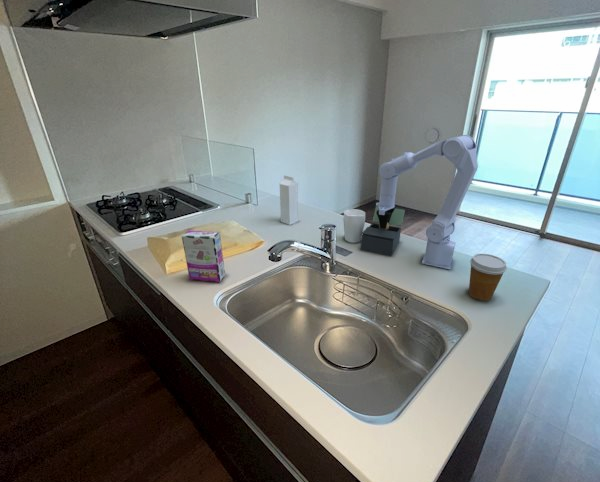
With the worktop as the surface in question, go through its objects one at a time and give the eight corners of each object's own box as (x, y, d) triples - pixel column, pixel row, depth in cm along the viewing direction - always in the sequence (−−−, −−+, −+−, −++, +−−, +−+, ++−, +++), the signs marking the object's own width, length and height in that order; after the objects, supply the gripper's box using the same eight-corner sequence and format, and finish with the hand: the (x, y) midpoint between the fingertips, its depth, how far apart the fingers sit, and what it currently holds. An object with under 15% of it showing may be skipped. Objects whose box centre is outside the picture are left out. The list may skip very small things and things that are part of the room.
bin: (370, 236, 138) (372, 220, 135) (399, 242, 133) (401, 225, 130) (360, 250, 127) (362, 232, 123) (391, 256, 121) (393, 238, 118)
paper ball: (389, 229, 130) (390, 220, 129) (387, 233, 127) (388, 223, 126) (379, 228, 132) (380, 219, 130) (377, 231, 129) (378, 222, 127)
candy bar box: (226, 275, 110) (220, 231, 103) (220, 282, 106) (214, 237, 99) (195, 272, 112) (188, 229, 105) (188, 280, 108) (180, 235, 101)
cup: (357, 246, 130) (359, 218, 125) (338, 240, 135) (339, 213, 130) (367, 238, 136) (369, 211, 131) (348, 233, 141) (350, 207, 136)
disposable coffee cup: (460, 298, 97) (469, 263, 92) (464, 283, 104) (472, 250, 99) (496, 307, 92) (507, 271, 87) (498, 291, 100) (508, 257, 95)
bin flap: (372, 221, 134) (372, 221, 135) (401, 225, 129) (401, 226, 130) (376, 205, 135) (376, 206, 136) (405, 209, 130) (405, 210, 131)
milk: (289, 225, 151) (288, 179, 141) (280, 221, 155) (278, 176, 145) (298, 221, 155) (297, 176, 145) (289, 218, 159) (288, 174, 149)
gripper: (382, 187, 131) (379, 218, 136) (372, 197, 119) (369, 230, 125) (399, 189, 128) (395, 221, 133) (391, 199, 116) (387, 234, 122)
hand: (384, 226), depth 129 cm, fingers closed on paper ball, 4 cm apart
